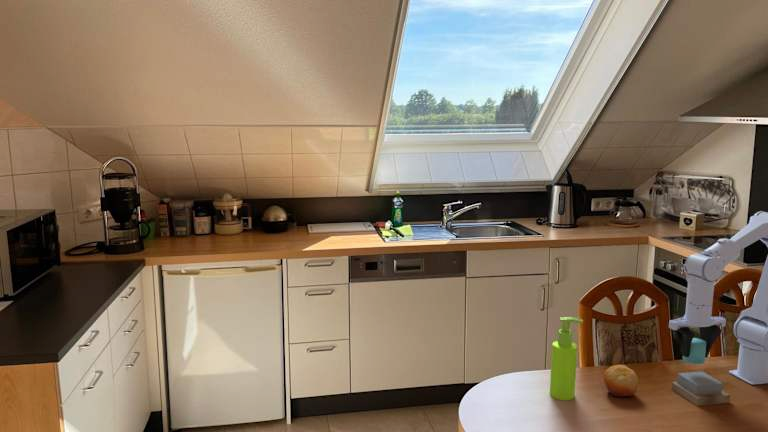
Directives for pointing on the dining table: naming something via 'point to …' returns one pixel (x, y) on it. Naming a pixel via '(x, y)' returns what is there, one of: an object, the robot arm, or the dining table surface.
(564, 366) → the soap dispenser
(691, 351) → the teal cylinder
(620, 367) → the tan round lump
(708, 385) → the grey square block
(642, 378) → the dining table surface
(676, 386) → the beige square slab
